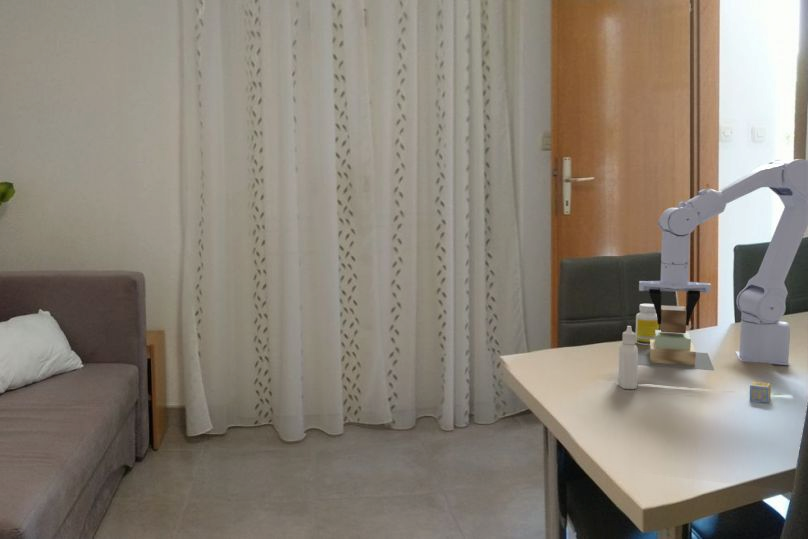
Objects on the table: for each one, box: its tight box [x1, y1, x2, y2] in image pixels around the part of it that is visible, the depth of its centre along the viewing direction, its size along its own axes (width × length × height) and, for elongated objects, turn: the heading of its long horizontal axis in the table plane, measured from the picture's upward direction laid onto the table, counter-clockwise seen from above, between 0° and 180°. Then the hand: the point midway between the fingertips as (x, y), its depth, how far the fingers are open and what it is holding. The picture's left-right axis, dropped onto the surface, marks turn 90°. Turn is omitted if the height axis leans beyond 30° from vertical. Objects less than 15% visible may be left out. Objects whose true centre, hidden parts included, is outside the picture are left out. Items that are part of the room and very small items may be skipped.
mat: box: [638, 348, 715, 371], centre depth 147 cm, size 16×14×1 cm
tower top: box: [655, 329, 692, 350], centre depth 146 cm, size 7×7×2 cm
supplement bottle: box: [634, 303, 660, 346], centre depth 161 cm, size 5×5×10 cm
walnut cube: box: [659, 304, 687, 333], centre depth 146 cm, size 5×5×5 cm
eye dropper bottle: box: [617, 325, 639, 390], centre depth 129 cm, size 4×6×12 cm
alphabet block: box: [749, 381, 772, 404], centre depth 121 cm, size 3×3×3 cm
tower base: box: [649, 339, 697, 365], centre depth 147 cm, size 9×9×3 cm
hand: (672, 323), depth 146 cm, fingers closed on walnut cube, 5 cm apart
